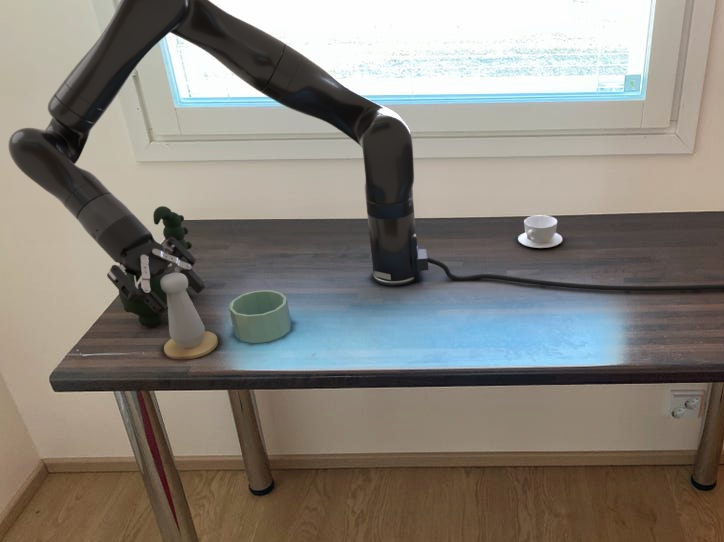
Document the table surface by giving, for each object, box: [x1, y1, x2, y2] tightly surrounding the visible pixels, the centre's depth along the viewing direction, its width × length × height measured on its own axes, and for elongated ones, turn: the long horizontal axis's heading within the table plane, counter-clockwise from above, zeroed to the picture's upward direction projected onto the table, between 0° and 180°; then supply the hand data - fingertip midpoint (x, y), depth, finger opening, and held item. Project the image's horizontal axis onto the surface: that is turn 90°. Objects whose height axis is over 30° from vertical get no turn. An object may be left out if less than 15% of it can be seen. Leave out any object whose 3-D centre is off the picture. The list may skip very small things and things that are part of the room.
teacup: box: [517, 214, 563, 249], centre depth 166 cm, size 10×10×5 cm
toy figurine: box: [118, 205, 193, 328], centre depth 138 cm, size 9×19×25 cm
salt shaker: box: [160, 273, 206, 349], centre depth 127 cm, size 6×6×13 cm
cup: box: [228, 289, 292, 344], centre depth 134 cm, size 10×10×6 cm
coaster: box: [163, 330, 219, 361], centre depth 131 cm, size 9×9×1 cm
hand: (183, 300), depth 126 cm, fingers open, 8 cm apart
